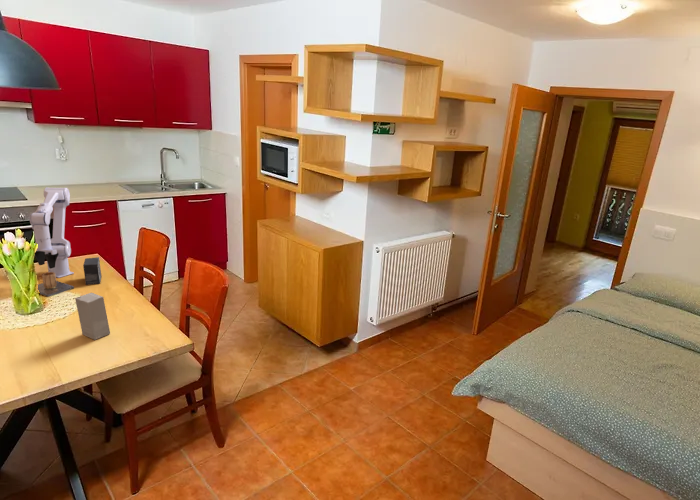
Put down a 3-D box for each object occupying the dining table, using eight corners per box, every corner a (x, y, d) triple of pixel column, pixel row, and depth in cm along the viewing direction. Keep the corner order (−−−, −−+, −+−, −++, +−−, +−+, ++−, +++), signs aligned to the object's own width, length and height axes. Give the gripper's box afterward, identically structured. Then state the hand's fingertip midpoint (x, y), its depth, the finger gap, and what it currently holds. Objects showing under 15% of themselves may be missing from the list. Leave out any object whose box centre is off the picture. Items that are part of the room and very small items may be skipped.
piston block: (27, 289, 203) (25, 279, 202) (53, 281, 214) (52, 272, 212) (48, 296, 198) (46, 286, 196) (74, 288, 208) (72, 278, 207)
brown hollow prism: (41, 286, 204) (40, 274, 202) (52, 283, 208) (50, 271, 207) (48, 288, 202) (46, 276, 200) (58, 285, 206) (57, 273, 205)
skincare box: (110, 334, 170) (106, 296, 165) (92, 341, 164) (87, 302, 159) (97, 328, 174) (93, 290, 169) (79, 335, 168) (74, 296, 163)
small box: (87, 277, 221) (84, 257, 218) (101, 276, 224) (99, 256, 221) (85, 285, 212) (82, 264, 209) (100, 283, 215) (98, 263, 212)
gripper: (23, 237, 201) (28, 265, 205) (43, 243, 196) (48, 271, 200) (39, 234, 208) (43, 261, 212) (59, 239, 202) (63, 267, 206)
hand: (47, 266), depth 206 cm, fingers open, 7 cm apart
